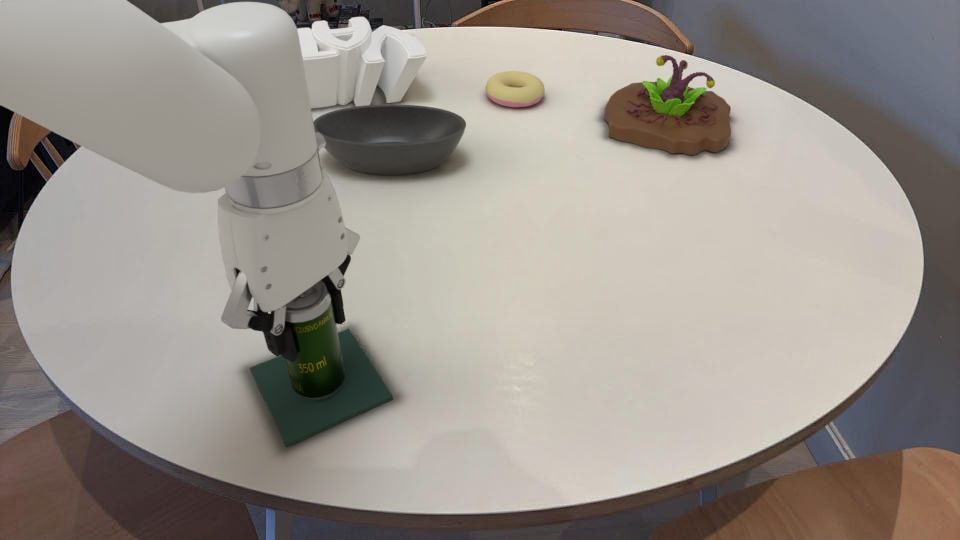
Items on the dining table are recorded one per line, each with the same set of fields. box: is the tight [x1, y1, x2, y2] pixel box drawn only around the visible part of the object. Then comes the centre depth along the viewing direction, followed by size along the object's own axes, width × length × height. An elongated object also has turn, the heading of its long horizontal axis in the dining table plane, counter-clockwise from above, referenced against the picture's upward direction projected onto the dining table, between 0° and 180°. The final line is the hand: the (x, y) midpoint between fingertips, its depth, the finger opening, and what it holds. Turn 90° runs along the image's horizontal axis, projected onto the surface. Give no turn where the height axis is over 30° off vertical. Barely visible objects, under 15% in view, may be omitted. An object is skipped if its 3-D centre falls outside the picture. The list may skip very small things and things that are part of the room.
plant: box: [603, 54, 732, 156], centre depth 109 cm, size 20×20×11 cm
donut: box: [485, 70, 546, 108], centre depth 118 cm, size 10×5×9 cm
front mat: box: [249, 328, 394, 448], centre depth 71 cm, size 11×11×1 cm
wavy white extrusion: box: [297, 16, 428, 110], centre depth 116 cm, size 35×16×11 cm, turn 103°
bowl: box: [313, 103, 467, 176], centre depth 102 cm, size 12×22×6 cm, turn 89°
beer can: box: [284, 280, 345, 400], centre depth 67 cm, size 5×5×12 cm
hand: (308, 333), depth 66 cm, fingers closed on beer can, 5 cm apart
